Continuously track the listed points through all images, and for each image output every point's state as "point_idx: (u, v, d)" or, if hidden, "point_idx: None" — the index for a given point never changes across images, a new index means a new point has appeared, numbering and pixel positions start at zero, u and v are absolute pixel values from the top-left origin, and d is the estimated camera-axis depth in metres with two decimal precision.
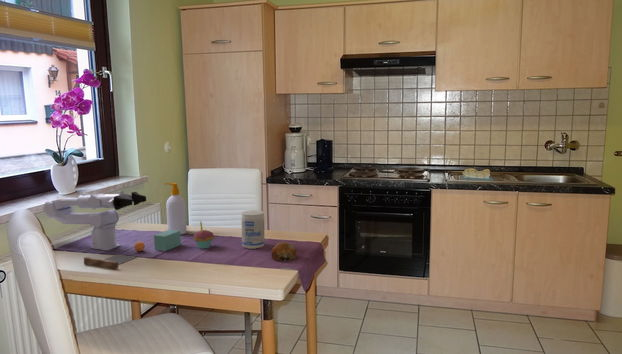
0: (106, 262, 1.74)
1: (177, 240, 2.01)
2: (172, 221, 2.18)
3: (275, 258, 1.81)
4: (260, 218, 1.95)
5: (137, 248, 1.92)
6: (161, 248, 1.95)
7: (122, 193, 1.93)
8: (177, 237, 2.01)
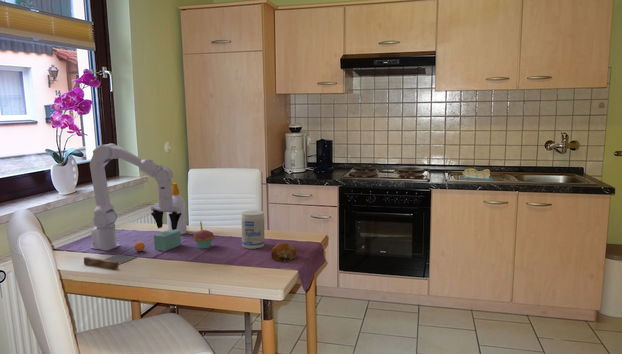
0: (106, 262, 1.74)
1: (177, 240, 2.01)
2: None
3: (275, 258, 1.80)
4: (260, 218, 1.95)
5: (137, 248, 1.92)
6: (161, 248, 1.95)
7: None
8: (177, 237, 2.01)
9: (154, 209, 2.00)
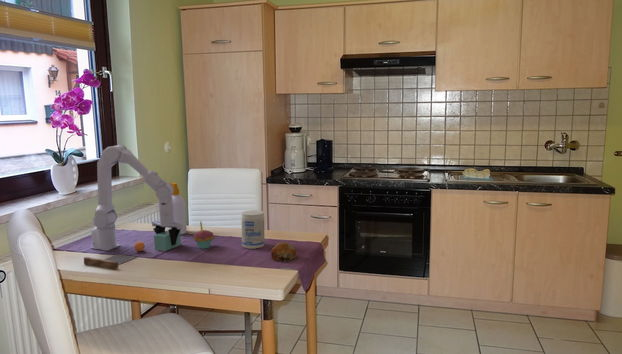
0: (106, 262, 1.74)
1: (177, 240, 2.01)
2: None
3: (275, 258, 1.80)
4: (260, 218, 1.95)
5: (137, 248, 1.92)
6: (161, 248, 1.95)
7: None
8: (177, 237, 2.01)
9: (155, 224, 2.01)
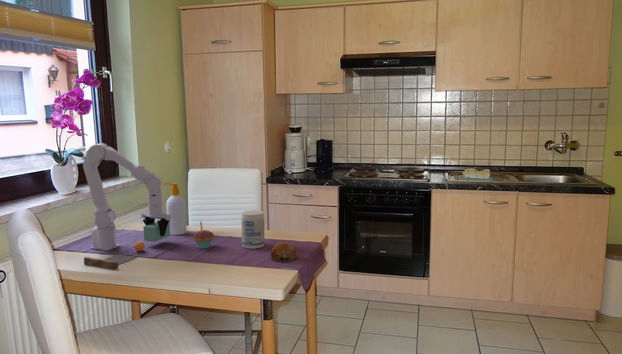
0: (106, 262, 1.74)
1: (166, 231, 2.05)
2: (172, 221, 2.18)
3: (275, 258, 1.80)
4: (260, 218, 1.95)
5: (137, 248, 1.92)
6: (150, 239, 1.99)
7: None
8: (166, 228, 2.05)
9: (144, 216, 2.04)
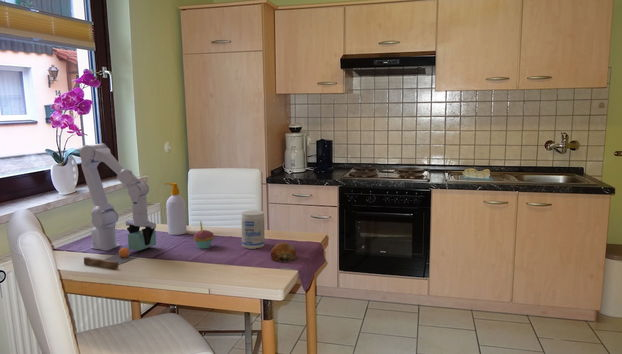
0: (106, 262, 1.74)
1: (152, 240, 1.97)
2: (172, 221, 2.18)
3: (274, 259, 1.80)
4: (260, 218, 1.95)
5: (125, 248, 1.86)
6: (135, 247, 1.91)
7: None
8: (152, 237, 1.97)
9: (129, 224, 1.96)
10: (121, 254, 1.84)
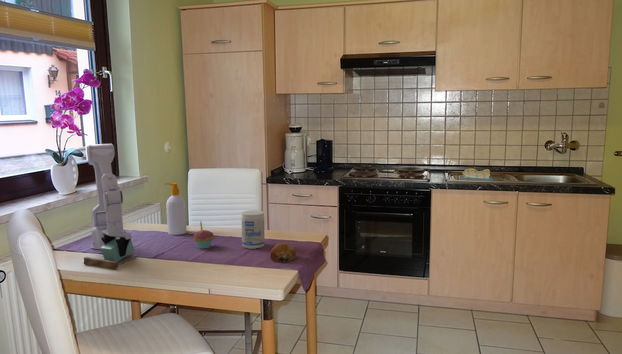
0: (106, 262, 1.74)
1: (128, 247, 1.85)
2: (172, 221, 2.18)
3: (274, 259, 1.79)
4: (260, 218, 1.95)
5: None
6: (110, 260, 1.80)
7: None
8: (128, 244, 1.84)
9: (104, 233, 1.85)
10: None
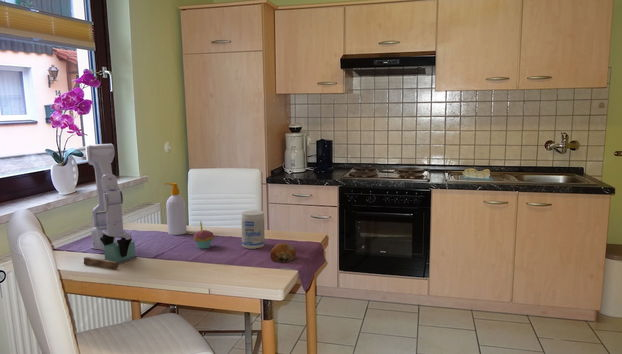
0: (106, 262, 1.74)
1: (130, 251, 1.86)
2: (172, 221, 2.18)
3: (274, 259, 1.79)
4: (260, 218, 1.95)
5: None
6: (111, 260, 1.80)
7: None
8: (130, 248, 1.86)
9: (104, 234, 1.85)
10: None
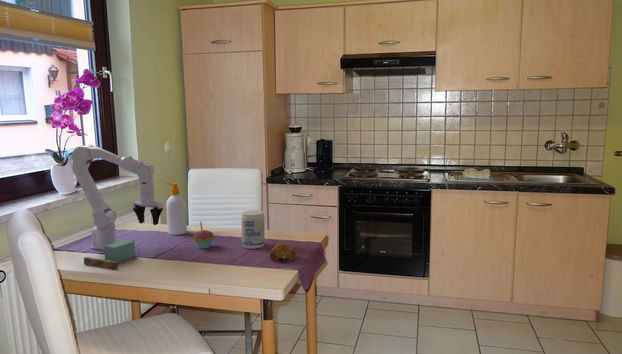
0: (106, 262, 1.74)
1: (130, 251, 1.86)
2: (172, 221, 2.18)
3: (274, 259, 1.79)
4: (260, 218, 1.95)
5: None
6: (111, 260, 1.80)
7: None
8: (130, 248, 1.86)
9: (136, 204, 2.01)
10: None
